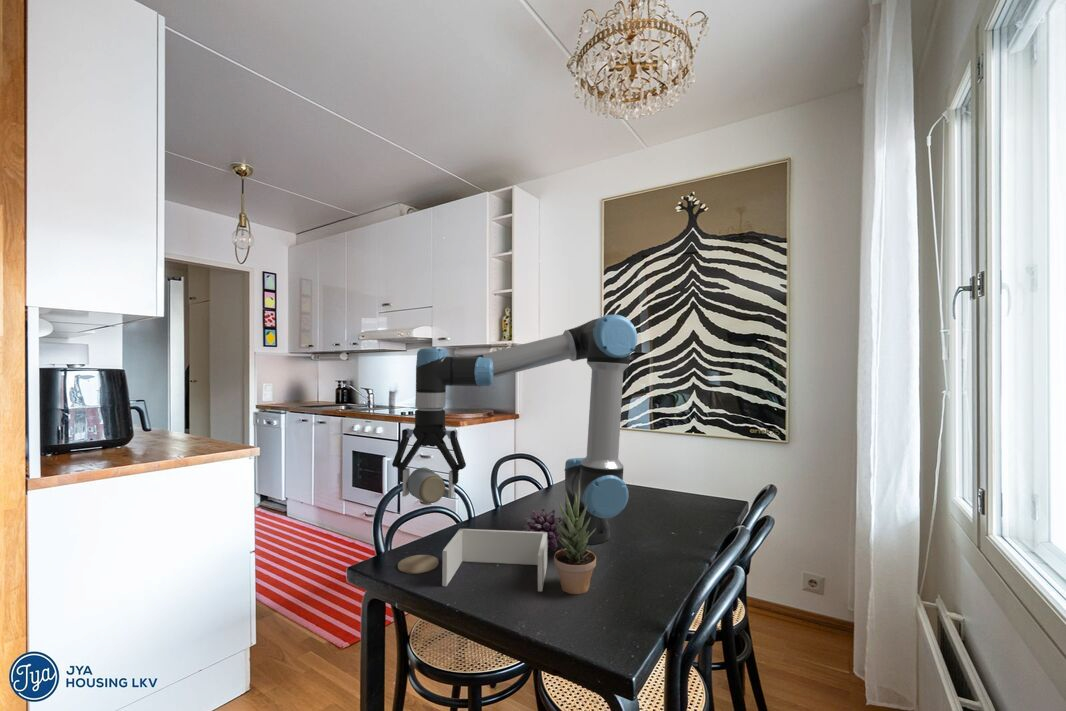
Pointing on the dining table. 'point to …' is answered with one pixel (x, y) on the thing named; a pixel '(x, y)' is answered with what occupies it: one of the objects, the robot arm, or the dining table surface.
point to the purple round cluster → (545, 526)
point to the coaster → (418, 564)
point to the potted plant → (574, 550)
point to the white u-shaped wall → (495, 550)
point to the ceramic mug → (426, 485)
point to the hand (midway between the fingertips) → (428, 496)
